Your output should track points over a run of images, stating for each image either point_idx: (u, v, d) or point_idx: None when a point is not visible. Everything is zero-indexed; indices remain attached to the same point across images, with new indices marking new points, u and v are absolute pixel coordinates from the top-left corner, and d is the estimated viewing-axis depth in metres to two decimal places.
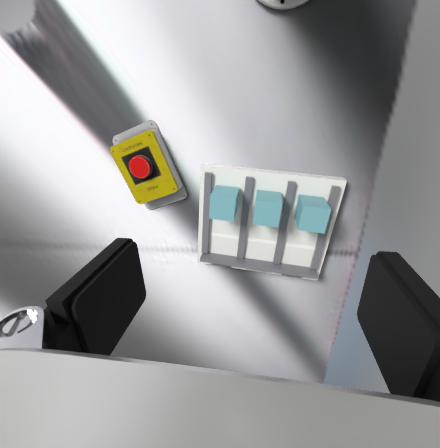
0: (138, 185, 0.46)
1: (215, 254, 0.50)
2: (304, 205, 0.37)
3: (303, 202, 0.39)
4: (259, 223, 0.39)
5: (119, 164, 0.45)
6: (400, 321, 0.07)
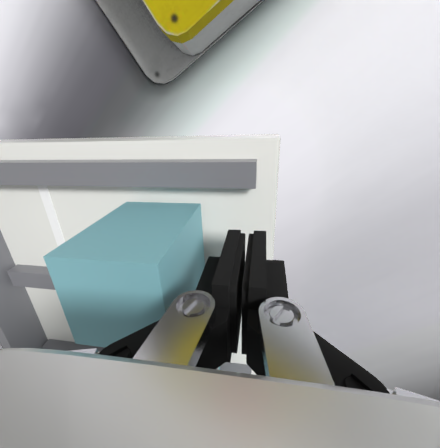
0: None
1: None
2: None
3: None
4: None
5: None
6: None
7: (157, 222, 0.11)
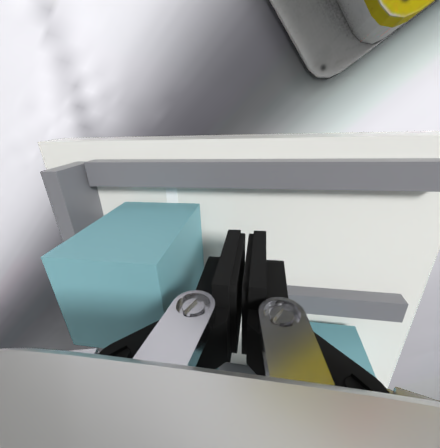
0: None
1: (98, 212, 0.14)
2: None
3: None
4: None
5: None
6: None
7: (156, 222, 0.11)
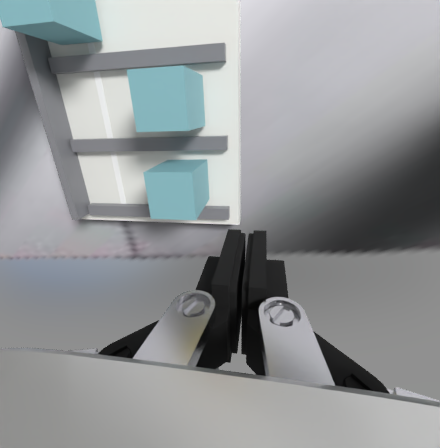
0: None
1: None
2: (193, 174, 0.20)
3: (197, 170, 0.21)
4: (133, 87, 0.17)
5: None
6: None
7: None
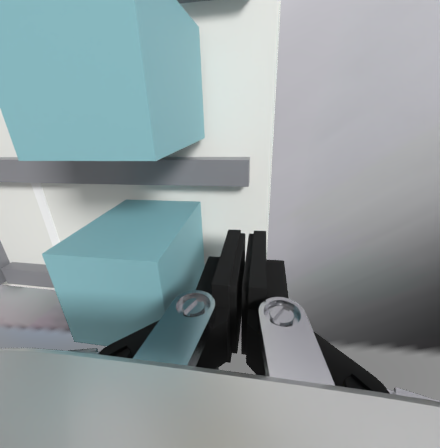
0: None
1: None
2: (162, 261, 0.08)
3: (175, 243, 0.09)
4: None
5: None
6: None
7: None
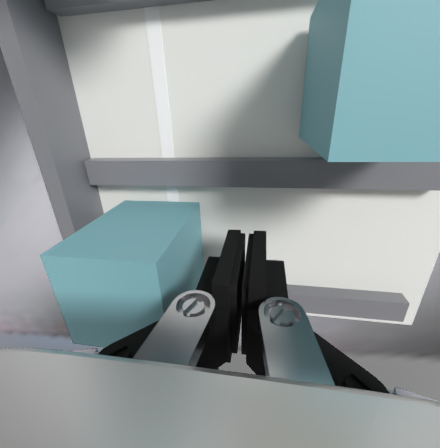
0: None
1: None
2: (161, 263, 0.08)
3: (174, 244, 0.09)
4: None
5: None
6: None
7: None
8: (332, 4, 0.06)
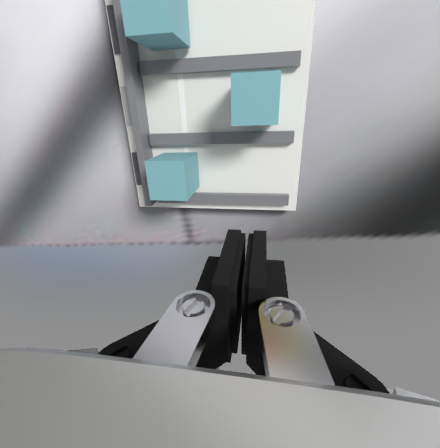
0: None
1: None
2: (185, 162, 0.24)
3: (188, 160, 0.25)
4: (234, 87, 0.21)
5: None
6: None
7: None
8: None
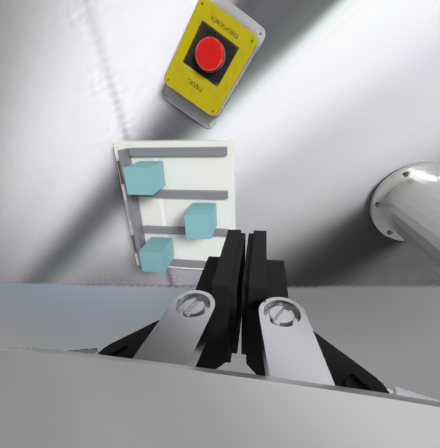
0: (185, 66, 0.35)
1: None
2: (162, 253, 0.42)
3: (164, 249, 0.43)
4: (186, 221, 0.38)
5: (192, 23, 0.33)
6: None
7: (149, 163, 0.39)
8: None
